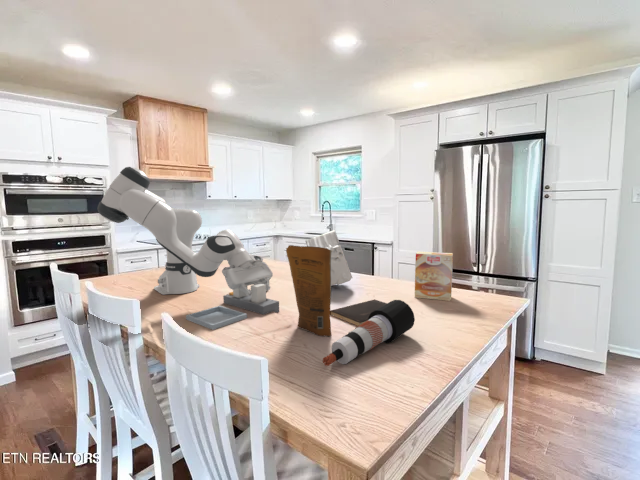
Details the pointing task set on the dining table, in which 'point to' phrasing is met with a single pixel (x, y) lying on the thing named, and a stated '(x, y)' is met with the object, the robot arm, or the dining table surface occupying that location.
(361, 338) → the cable
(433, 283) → the coffeecake box
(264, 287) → the grey rectangular block
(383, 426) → the dining table surface
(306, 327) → the pancake mix bag
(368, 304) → the hardcover book
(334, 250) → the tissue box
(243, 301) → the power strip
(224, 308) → the tray
